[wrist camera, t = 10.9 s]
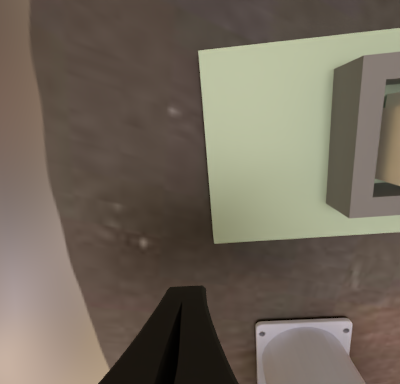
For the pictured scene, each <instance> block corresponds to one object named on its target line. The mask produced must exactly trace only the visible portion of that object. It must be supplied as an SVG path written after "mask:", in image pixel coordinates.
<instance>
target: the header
mask: <svg viewBox="0 0 400 384" xmlns="http://www.w3.org/2000/svg"><path fill="white" fill-rule="evenodd" d="M198 53H199V65H200V78H201V90H202V102H203V115H204V127H205V139H206V152H207V164H208V176H209V189H210V201H211V213H212V225H213V238H214V244H217V243H233V242H249V241H265V240H281V239H296V238H312V237H328V236H344V235H360V234H375V233H391V232H400V186H398V185H395V184H391V183H388V182H385V181H382V180H378V179H375V172H376V163H377V155H378V146H379V138H380V129H381V120H382V112H383V108H385V106H386V99H387V94H391V93H396V92H400V28H396V29H387V30H378V31H369V32H360V33H351V34H343V35H334V36H325V37H316V38H307V39H298V40H289V41H280V42H271V43H263V44H254V45H245V46H236V47H227V48H218V49H209V50H200V51H198Z"/></svg>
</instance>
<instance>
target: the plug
mask: <svg viewBox="0 0 400 384" xmlns="http://www.w3.org/2000/svg"><path fill="white" fill-rule="evenodd" d="M375 179H378V180H382V181H385V182H388V183H391V184H395V185H398V186H400V92H396V93H391V94H387V99H386V106H385V108H383V112H382V120H381V129H380V138H379V146H378V155H377V163H376V172H375Z"/></svg>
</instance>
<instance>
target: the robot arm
mask: <svg viewBox="0 0 400 384" xmlns="http://www.w3.org/2000/svg"><path fill="white" fill-rule="evenodd" d="M345 328H346V329H345ZM255 330H256V362H257V384H366V383H365V382H364V380H363V378H362V377H361V375H360V373H359V372H358V370H357V368H356V367H355V365H354V364H353V362H352V360H351V359H350V357H349V353H350V344H351V334H352V322H351V321H350V320H349V319H348V318H329V319H305V320H282V321H261V322H258V323H257V324H256V326H255ZM260 332H262V333H260ZM98 384H238V382H237V380H236V378H235V376H234V374H233V372H232V369H231V367H230V365H229V363H228V361H227V358H226V356H225V354H224V351H223V349H222V347H221V344H220V342H219V339H218V337H217V334H216V331H215V328H214V325H213V323H212V320H211V316H210V313H209V309H208V306H207V299H206V288H205V287H203V286H184V287H170V288H169V289H168V290H167V292H166V293H165V295H164V297H163V298H162V300H161V301H160V303H159V305H158V306H157V308H156V309H155V311H154V312H153V314H152V315H151V317H150V318H149V320H148V321H147V322H146V324H145V325H144V327H143V328H142V329H141V331H140V332H139V334H138V335H137V336H136V338H135V339H134V340H133V342H132V343H131V344H130V346H129V347H128V348H127V349H126V351H125V352H124V353H123V355H122V356H121V357H120V358H119V360H118V361H117V362H116V363H115V365H114V366H113V367H112V368H111V369H110V371H109V372H108V373H107V374H106V375H105V376H104V378H103V379H102V380H101V381H100V382H99V383H98Z"/></svg>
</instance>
